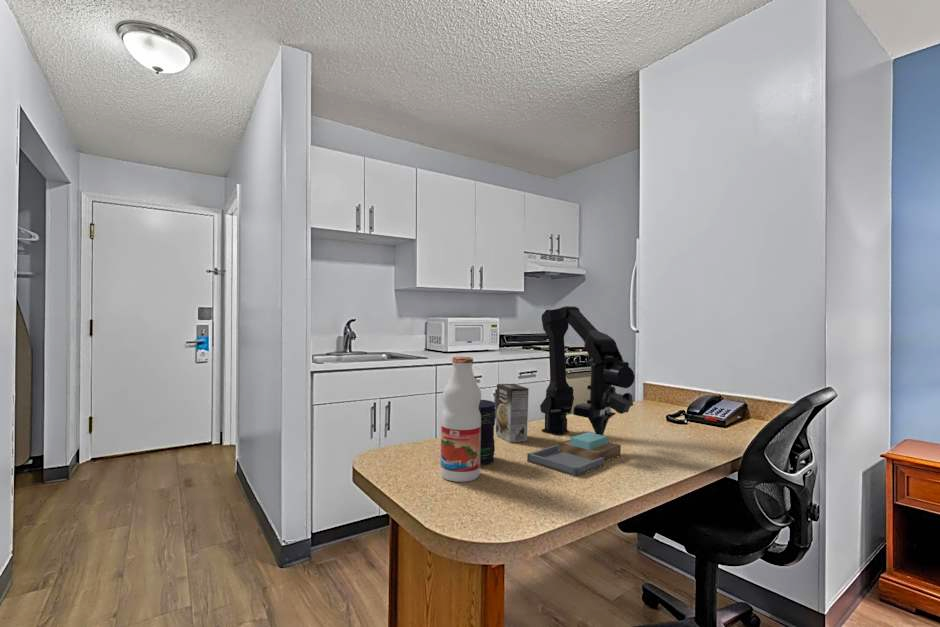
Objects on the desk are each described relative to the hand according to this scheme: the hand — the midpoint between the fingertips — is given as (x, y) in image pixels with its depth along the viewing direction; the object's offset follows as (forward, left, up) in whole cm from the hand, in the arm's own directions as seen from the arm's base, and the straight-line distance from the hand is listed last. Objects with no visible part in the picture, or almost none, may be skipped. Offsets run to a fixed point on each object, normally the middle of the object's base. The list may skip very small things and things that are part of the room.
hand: (599, 437), depth 136 cm
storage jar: (-17, -32, -4) cm, 37 cm away
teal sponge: (0, -5, -1) cm, 5 cm away
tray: (0, -16, -4) cm, 17 cm away
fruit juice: (-11, -43, -4) cm, 45 cm away
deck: (0, -5, -4) cm, 6 cm away
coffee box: (-25, -9, -4) cm, 27 cm away
